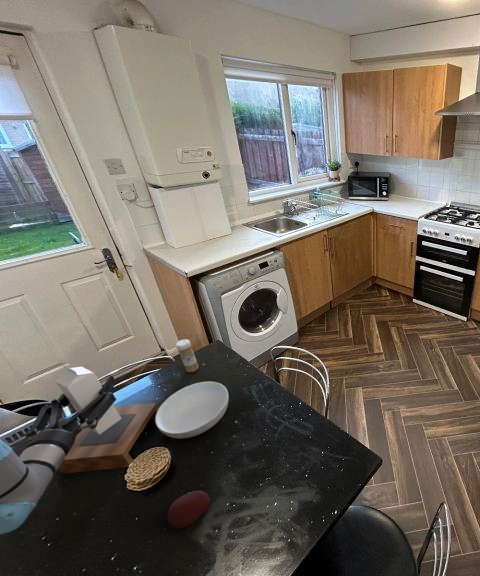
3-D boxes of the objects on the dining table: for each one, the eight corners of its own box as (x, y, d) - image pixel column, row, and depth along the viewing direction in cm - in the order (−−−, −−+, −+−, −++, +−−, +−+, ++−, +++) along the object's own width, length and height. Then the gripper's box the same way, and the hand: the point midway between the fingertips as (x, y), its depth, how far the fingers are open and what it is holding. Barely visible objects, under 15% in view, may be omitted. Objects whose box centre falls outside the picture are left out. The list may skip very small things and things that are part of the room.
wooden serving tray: (62, 473, 88) (51, 460, 85) (104, 419, 103) (96, 407, 100) (130, 466, 90) (122, 454, 87) (162, 414, 105) (156, 402, 102)
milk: (110, 412, 96) (76, 357, 85) (122, 419, 94) (89, 363, 83) (86, 427, 91) (48, 371, 80) (99, 435, 89) (61, 378, 78)
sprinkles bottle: (188, 374, 122) (178, 348, 115) (184, 369, 124) (173, 342, 118) (201, 368, 125) (191, 342, 118) (196, 363, 127) (186, 337, 121)
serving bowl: (242, 395, 113) (238, 381, 110) (214, 448, 95) (208, 434, 91) (186, 393, 113) (180, 380, 110) (146, 447, 95) (138, 432, 92)
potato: (175, 506, 81) (167, 493, 78) (213, 493, 83) (207, 481, 81) (169, 538, 75) (160, 526, 72) (210, 523, 77) (203, 511, 74)
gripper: (-3, 475, 71) (57, 399, 90) (106, 451, 76) (141, 384, 95) (-24, 455, 67) (43, 380, 86) (93, 431, 72) (131, 365, 91)
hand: (94, 382), depth 90 cm, fingers closed on milk, 8 cm apart
